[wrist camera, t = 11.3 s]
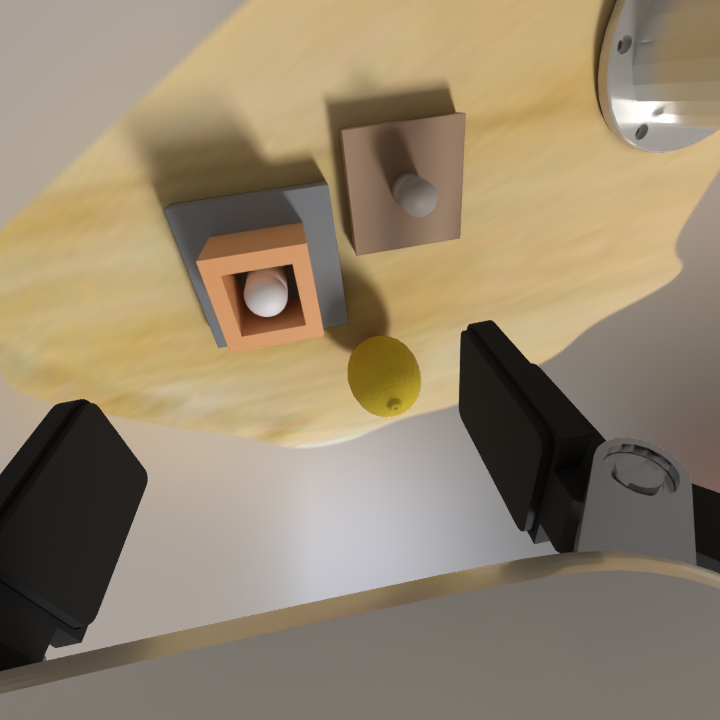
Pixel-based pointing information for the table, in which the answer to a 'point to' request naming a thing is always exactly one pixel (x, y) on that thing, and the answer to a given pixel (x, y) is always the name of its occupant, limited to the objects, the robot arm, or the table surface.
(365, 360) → the lemon
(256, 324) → the collar
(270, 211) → the plate
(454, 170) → the stand
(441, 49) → the table surface
